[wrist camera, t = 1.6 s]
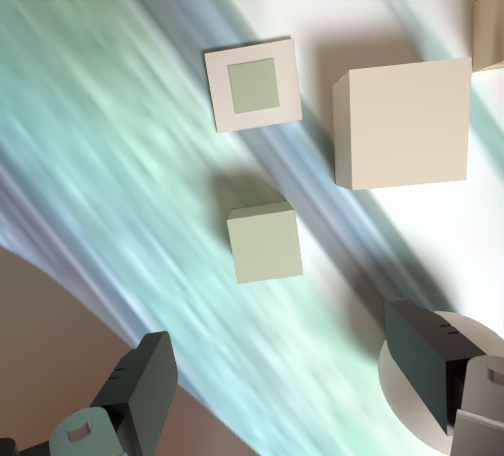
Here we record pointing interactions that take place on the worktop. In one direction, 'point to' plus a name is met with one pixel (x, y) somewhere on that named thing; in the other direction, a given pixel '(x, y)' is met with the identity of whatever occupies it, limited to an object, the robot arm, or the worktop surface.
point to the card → (254, 86)
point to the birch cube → (488, 35)
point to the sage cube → (264, 242)
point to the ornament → (405, 396)
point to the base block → (402, 124)
